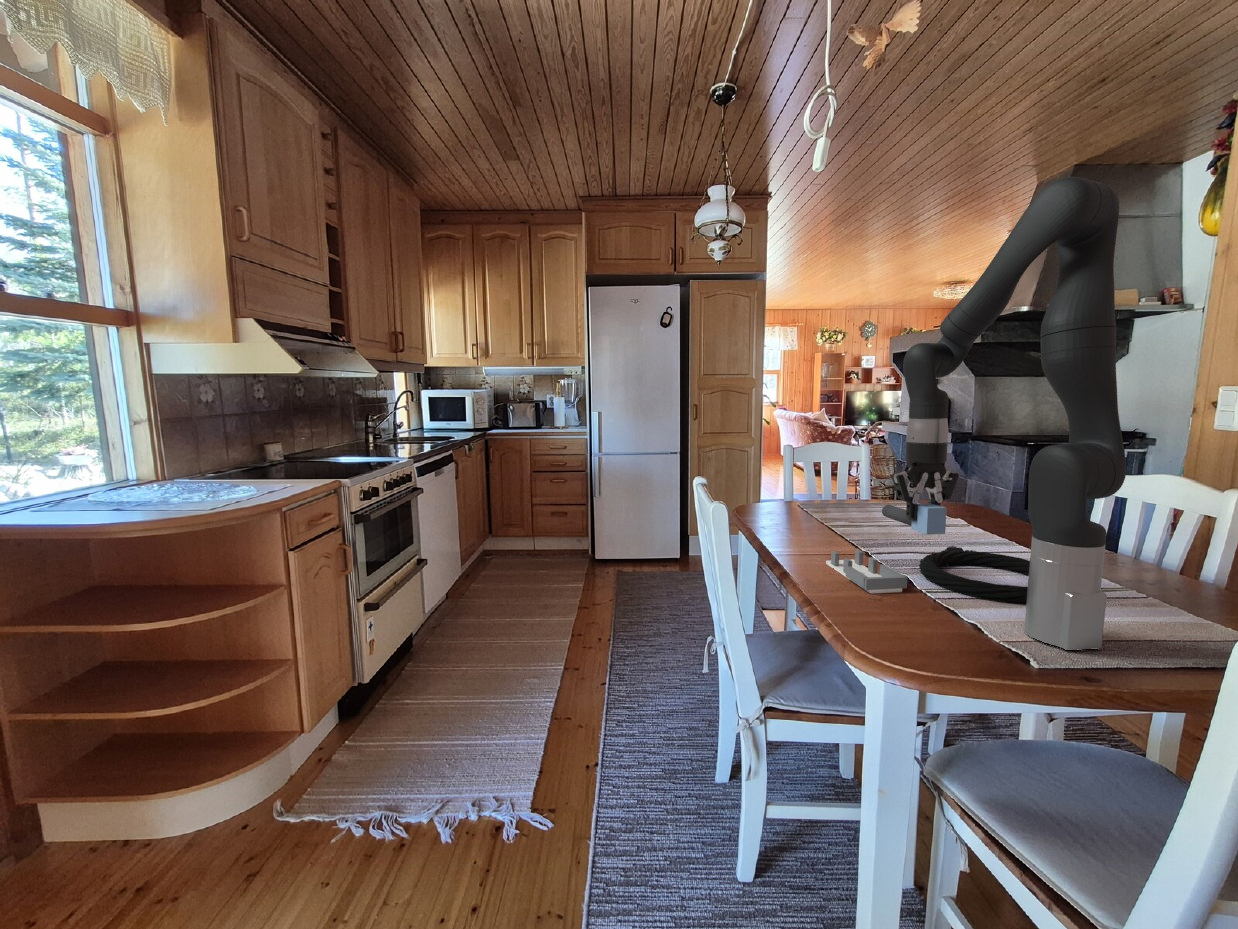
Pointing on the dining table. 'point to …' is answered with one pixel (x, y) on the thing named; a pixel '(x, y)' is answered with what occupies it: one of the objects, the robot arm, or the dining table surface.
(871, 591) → the rail
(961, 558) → the cable lock
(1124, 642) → the dining table surface
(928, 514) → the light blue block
